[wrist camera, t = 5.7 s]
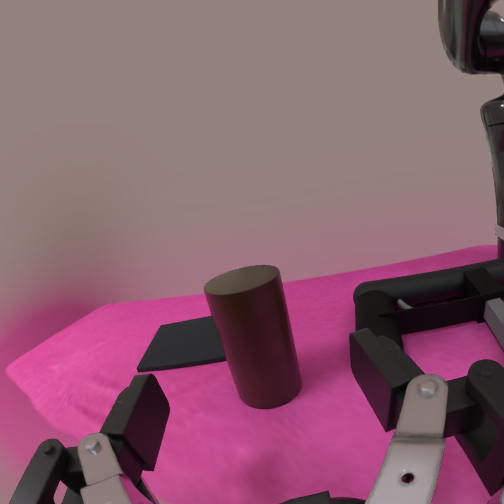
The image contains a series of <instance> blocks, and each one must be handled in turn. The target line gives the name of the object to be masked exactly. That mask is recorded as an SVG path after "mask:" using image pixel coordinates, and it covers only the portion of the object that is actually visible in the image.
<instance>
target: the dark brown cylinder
mask: <svg viewBox="0 0 504 504" xmlns="http://www.w3.org/2000/svg"><path fill="white" fill-rule="evenodd" d="M204 292H205V295H206V299H207V302H208V305H209V308H210V312H211V315H212V318H213V321H214V324H215V327H216V330H217V333H218V336H219V339H220V342H221V345H222V348H223V351H224V354H225V357H226V360H227V363H228V365H229V368H230V371H231V374H232V377H233V379H234V382H235V385H236V388H237V390H238V393H239V396H240V398H241V400H242V401H243V402H244V403H245V404H247V405H248V406H251V407H254V408H259V409H269V408H274V407H278V406H281V405H283V404H286V403H287V402H289V401H290V400H292V399H293V398H294V397H295V396H296V395H297V394H298V393H299V391H300V389H301V385H302V381H301V375H300V370H299V365H298V360H297V354H296V349H295V344H294V339H293V334H292V329H291V324H290V319H289V314H288V309H287V305H286V300H285V295H284V290H283V285H282V281H281V276H280V271H279V269H278V268H277V267H275V266H270V265H256V266H249V267H244V268H239V269H236V270H232V271H229V272H226V273H224V274H221V275H219V276H217V277H215V278H213V279H212V280H210V281H209V282H207V283H206V285H205V286H204Z"/></svg>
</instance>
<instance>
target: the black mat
mask: <svg viewBox="0 0 504 504" xmlns="http://www.w3.org/2000/svg"><path fill="white" fill-rule="evenodd" d="M225 360H226V357H225V354H224V351H223V348H222V345H221V342H220V339H219V336H218V333H217V330H216V327H215V324H214V321H213V318H212V316H208V317H203V318H198V319H193V320H188V321H182V322H177V323H171V324H166V325H161V326H160V328H159V329H158V331H157V333H156V335H155V336H154V338H153V340H152V342H151V343H150V345H149V347H148V349H147V351H146V352H145V354H144V356H143V358H142V359H141V361H140V363H139V365H138V367H137V370H138V372H144V371H154V370H163V369H172V368H180V367H187V366H194V365H201V364H207V363H213V362H219V361H225Z"/></svg>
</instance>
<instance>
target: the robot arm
mask: <svg viewBox="0 0 504 504" xmlns="http://www.w3.org/2000/svg"><path fill="white" fill-rule="evenodd" d="M498 1H499V0H438V21H439V30H440V36H441V40H442V44H443V47H444V49H445V52H446V54H447V56H448V58H449V60H450V61H451V62H452V64H453V65H454V66H455V67H456V68H457V69H458V70H460V71H461V72H463V73H466V74H471V75H501V77H502V80H503V83H504V18H503V17H502V16H501V15H500V14H499V13H498V12H496V11H493V10H489V9H490V8H491V7H492V6H493V5H494V4H495V3H497V2H498ZM480 112H481V118H482V122H483V125H484V128H485V133H486V138H487V142H488V147H489V152H490V157H491V164H492V170H493V177H494V185H495V193H496V206H497V224H495V235H497V236H498V256H497V259H500V258H504V91H503V92H502V94H500V95H499V96H497V97H495V98H493V99H491V100H489V101H488V102H486V103H484V104H483V105H482V106H481V109H480ZM349 343H350V358H351V368H352V372H353V375H354V377H355V379H356V381H357V383H358V384H359V386H360V388H361V389H362V391H363V393H364V395H365V396H366V398H367V400H368V402H369V403H370V405H371V407H372V409H373V410H374V412H375V414H376V416H377V417H378V419H379V421H380V423H381V425H382V426H383V428H384V430H385V432H388V431H391V430H393V429H396V431H395V434H394V435H393V437H392V439H391V442H390V445H389V448H388V450H387V453H386V456H385V459H384V461H383V464H382V466H381V469H380V471H379V474H378V476H377V478H376V481H375V483H374V485H373V487H372V490H371V492H370V494H369V496H368V498H367V500H362V499H357V498H348V497H336V498H330V494H329V491H325V492H321V493H317V494H313V495H309V496H304V497H300V498H295V499H290V500H288V501H285V502H283V503H280V504H431V501H432V497H433V494H434V491H435V487H436V483H437V479H438V475H439V471H440V467H441V462H442V458H443V452H444V447H445V438H447V437H451V436H454V437H455V438H456V440H457V441H458V443H459V444H460V446H461V447H462V449H463V451H464V452H465V454H466V455H467V457H468V459H469V460H470V462H471V464H472V465H473V467H474V468H475V470H476V472H477V474H478V475H479V477H480V479H481V480H482V482H483V484H484V486H485V487H486V489H487V491H488V493H489V495H490V496H491V498H490V499H489V501H488V503H487V504H504V368H503V367H502V366H501V365H500V364H499V363H497V362H496V361H493V360H489V359H483V360H479V361H477V362H475V363H473V364H472V365H471V367H470V368H469V371H468V375H467V376H464V377H461V378H457V379H453V380H449V381H445V379H443V378H442V377H440V376H438V375H435V374H425V373H424V372H423V371H422V370H421V369H420V368H419V367H418V366H417V365H416V364H415V362H414V361H413V360H412V359H411V358H410V357H409V356H408V355H407V354H405V352H404V351H403V350H402V349H401V348H400V347H399V346H398V344H397V343H396V342H395V341H394V340H392V339H390V338H388V337H385V336H383V335H382V336H379V337H376V336H375V335H374V334H373V333H372V331H371V330H370V329H369V328H365V329H362V330H359V331H356V332H353V333H350V335H349ZM169 413H170V407H169V402H168V400H167V398H166V396H165V394H164V392H163V391H162V389H161V387H160V385H159V383H158V381H157V379H156V377H155V376H154V375H153V374H143V375H135V376H134V378H133V380H132V381H131V383H130V385H129V387H126V388H125V389H124V390H123V391H122V392H121V393H120V394H119V396H118V397H117V399H116V401H115V404H114V405H113V407H112V411H110V413H109V414H108V416H107V418H106V420H105V422H104V424H103V426H102V428H101V430H100V432H99V433H93V434H90V435H88V436H86V437H84V438H83V439H82V440H81V441H80V443H79V445H78V446H77V447H69V448H65V447H64V446H63V444H62V443H61V442H60V441H59V440H57V439H48V440H46V441H44V442H42V443H41V444H40V445H39V447H38V449H37V450H36V452H35V454H34V456H33V458H32V459H31V461H30V463H29V465H28V467H27V468H26V470H25V472H24V474H23V476H22V478H21V480H20V482H19V484H18V486H17V488H16V490H15V492H14V494H13V496H12V498H11V500H10V503H9V504H55V502H54V498H53V497H54V494H55V491H56V489H57V486H58V484H59V482H60V480H61V481H62V482H63V483H64V484H65V485H66V486H67V487H68V488H67V491H66V493H65V496H64V499H63V502H62V504H159V502H158V501H157V499H156V498H155V496H154V494H153V493H152V491H151V490H150V488H149V486H148V485H147V483H146V481H145V479H144V478H143V477H142V476H141V474H142V470H145V471H154V468H155V464H156V461H157V457H158V453H159V449H160V446H161V442H162V438H163V435H164V431H165V428H166V424H167V421H168V417H169Z"/></svg>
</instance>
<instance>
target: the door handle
mask: <svg viewBox="0 0 504 504" xmlns="http://www.w3.org/2000/svg"><path fill="white" fill-rule="evenodd" d="M502 286H504V258H500V259H495V260H491V261H486V262H481V263H476V264H471V265H466V266H461V267H455V268H450V269H444V270H439V271H433V272H427V273H421V274H415V275H409V276H402V277H396V278H389V279H383V280H376V281H369V282H363V283H361V284H360V285H358V286H357V287H356V289H355V291H354V294H353V300H354V303H355V318H356V331H359V330H362V329H365V328H369V329H370V330H371V331H372V333H373V334H374V335H375V336H376V337H379V336H382V335H383V336H385V337H388V338H390V339H392V340H394V341H395V342H396V343H397V344H398V346H399V347H400V348H401V349H402V350H403V351H404V348H403V343H402V338H401V334H408V333H414V332H420V331H425V330H431V329H436V328H441V327H446V326H451V325H456V324H460V323H465V322H469V321H473V320H476V321H477V323H480V322H484V321H486V322H487V323H488V325H489V327H490V328H491V330H492V332H493V333H494V335H495V337H496V338H497V340H498V342H499V343H500V345H501V347H502V349H503V351H504V288H503V287H502ZM458 296H461V297H462V299H459V300H454V301H449V302H444V303H439V304H434V305H428V306H422V307H417V308H413V307H411V306H409V305H415V304H421V303H426V302H432V301H437V300H443V299H448V298H453V297H458ZM396 307H400V308H401V309H403V310H398V311H395V309H394V308H396Z"/></svg>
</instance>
